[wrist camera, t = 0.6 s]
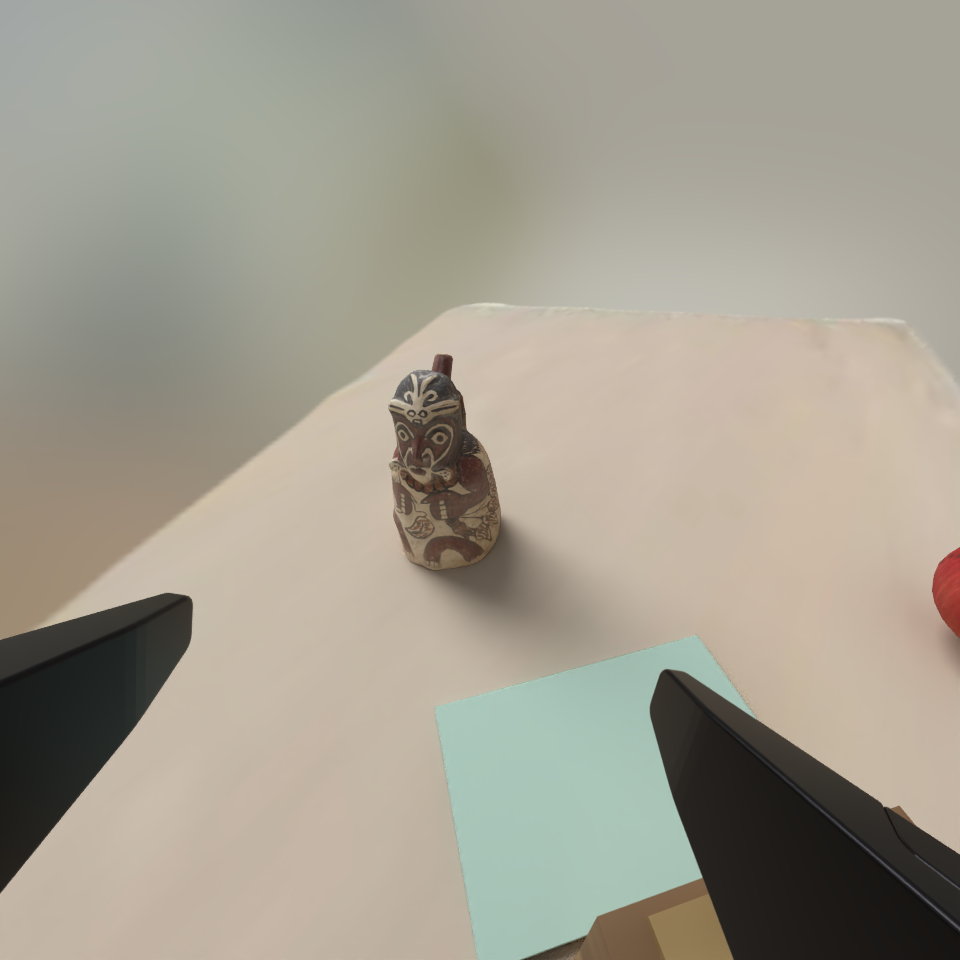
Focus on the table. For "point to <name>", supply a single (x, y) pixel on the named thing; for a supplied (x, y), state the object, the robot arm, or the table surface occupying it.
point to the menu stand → (663, 927)
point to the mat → (567, 798)
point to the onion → (948, 590)
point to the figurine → (440, 474)
